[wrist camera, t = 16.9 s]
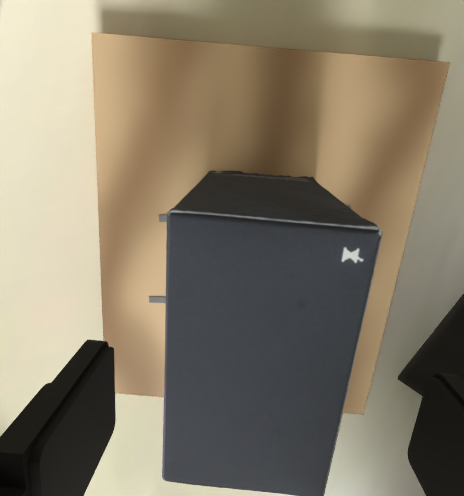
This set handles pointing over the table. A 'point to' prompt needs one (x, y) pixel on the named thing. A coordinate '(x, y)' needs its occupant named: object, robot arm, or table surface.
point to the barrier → (438, 352)
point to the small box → (261, 330)
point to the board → (246, 164)
